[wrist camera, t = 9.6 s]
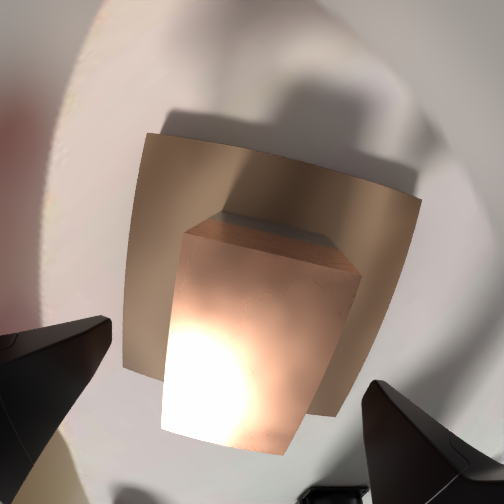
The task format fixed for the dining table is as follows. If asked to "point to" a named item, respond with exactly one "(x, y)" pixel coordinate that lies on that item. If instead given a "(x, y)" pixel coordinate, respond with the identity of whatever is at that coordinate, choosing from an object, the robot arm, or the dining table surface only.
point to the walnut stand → (266, 208)
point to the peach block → (252, 330)
